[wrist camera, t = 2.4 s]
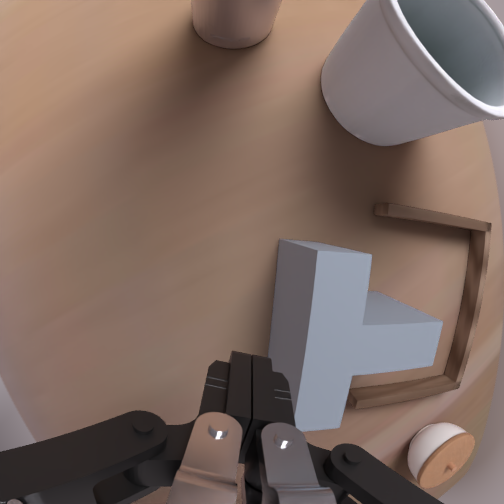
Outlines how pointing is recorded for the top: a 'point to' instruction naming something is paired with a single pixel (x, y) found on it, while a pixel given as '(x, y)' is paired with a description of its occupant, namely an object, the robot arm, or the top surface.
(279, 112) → the top surface
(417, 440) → the lidded jar
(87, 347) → the top surface
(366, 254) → the slate T block
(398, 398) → the walnut bay
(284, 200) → the top surface
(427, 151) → the top surface
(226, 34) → the robot arm
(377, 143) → the utensil holder
